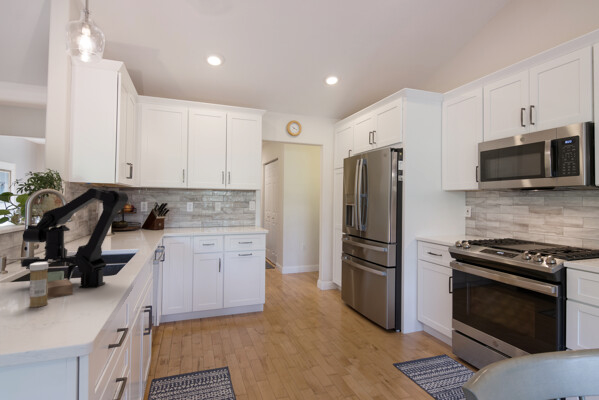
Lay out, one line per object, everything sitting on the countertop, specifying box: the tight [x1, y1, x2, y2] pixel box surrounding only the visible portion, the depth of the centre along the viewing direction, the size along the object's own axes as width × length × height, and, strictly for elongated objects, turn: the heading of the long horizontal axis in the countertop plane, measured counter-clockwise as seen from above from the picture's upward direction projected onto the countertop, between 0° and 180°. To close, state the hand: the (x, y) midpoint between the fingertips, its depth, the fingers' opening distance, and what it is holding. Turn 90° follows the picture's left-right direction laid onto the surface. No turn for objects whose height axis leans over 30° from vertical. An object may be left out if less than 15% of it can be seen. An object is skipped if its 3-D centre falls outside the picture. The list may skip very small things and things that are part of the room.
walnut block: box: [47, 278, 74, 300], centre depth 110 cm, size 10×10×4 cm
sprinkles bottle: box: [29, 262, 49, 308], centre depth 98 cm, size 5×5×14 cm
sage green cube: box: [48, 270, 65, 282], centre depth 121 cm, size 5×5×5 cm
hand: (54, 282), depth 121 cm, fingers open, 9 cm apart
